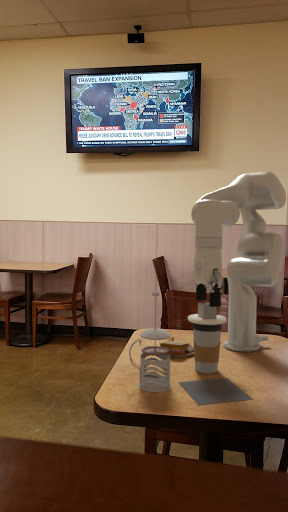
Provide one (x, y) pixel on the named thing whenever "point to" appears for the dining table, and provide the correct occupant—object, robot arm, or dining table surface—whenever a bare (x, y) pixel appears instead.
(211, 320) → the lid
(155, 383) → the french press
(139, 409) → the dining table surface
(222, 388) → the mat
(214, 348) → the coffee cup
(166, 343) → the toy sandwich meal
